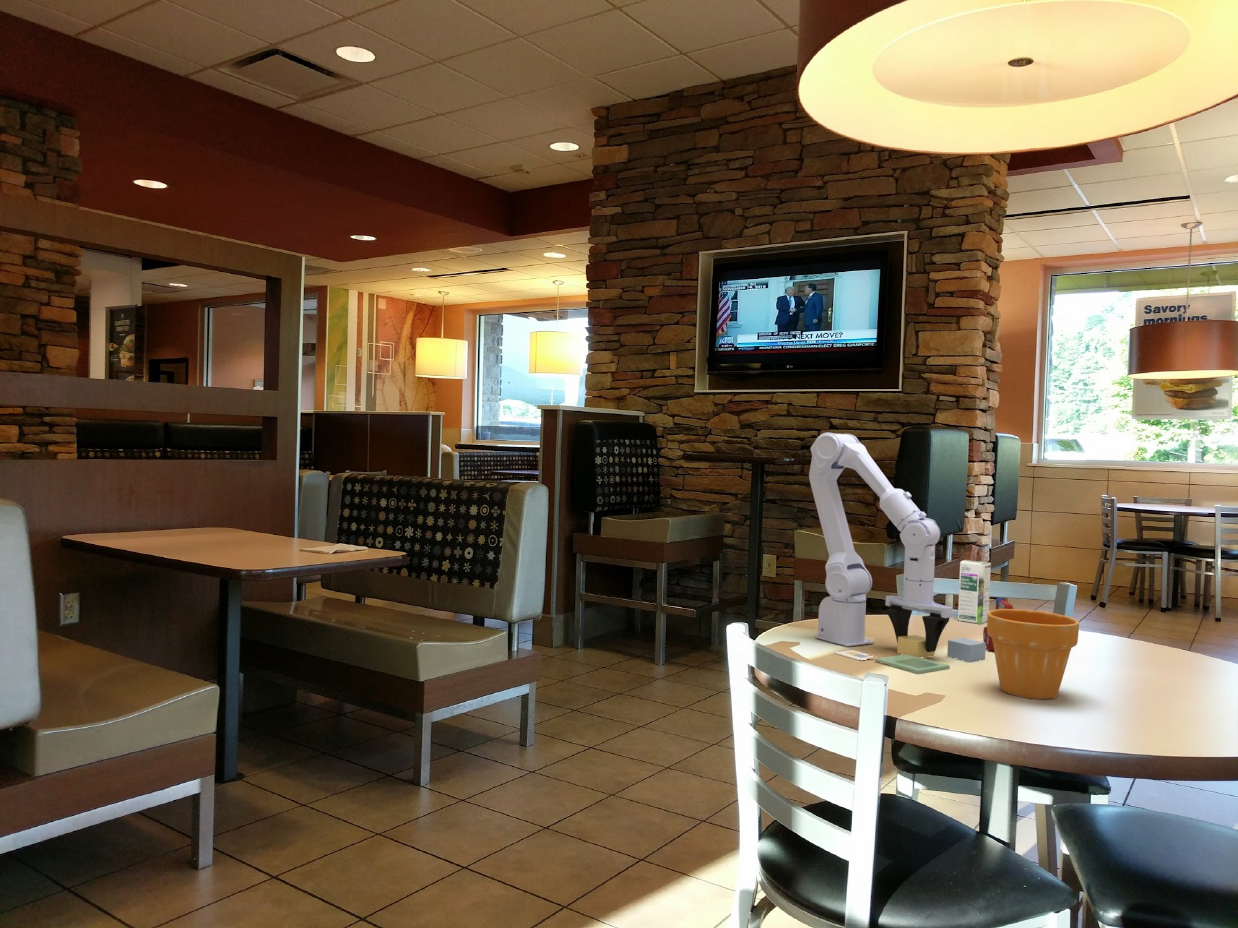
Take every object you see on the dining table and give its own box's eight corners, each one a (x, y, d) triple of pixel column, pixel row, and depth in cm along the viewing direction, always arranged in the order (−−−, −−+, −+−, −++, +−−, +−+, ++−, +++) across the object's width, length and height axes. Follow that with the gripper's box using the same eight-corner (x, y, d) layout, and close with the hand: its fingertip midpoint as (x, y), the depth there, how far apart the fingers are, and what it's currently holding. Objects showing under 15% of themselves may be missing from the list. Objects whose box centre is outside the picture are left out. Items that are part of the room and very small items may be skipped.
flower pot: (1062, 685, 158) (1065, 611, 158) (1087, 707, 144) (1090, 627, 144) (977, 678, 161) (980, 606, 160) (993, 699, 147) (996, 621, 147)
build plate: (875, 661, 171) (875, 658, 171) (906, 656, 176) (906, 653, 176) (918, 673, 163) (918, 670, 162) (949, 668, 167) (949, 665, 167)
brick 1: (897, 653, 179) (897, 636, 179) (914, 651, 182) (915, 634, 181) (917, 659, 175) (917, 641, 175) (934, 657, 177) (935, 639, 177)
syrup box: (956, 620, 216) (959, 561, 215) (965, 617, 220) (967, 559, 220) (981, 624, 212) (983, 563, 212) (989, 621, 217) (991, 561, 216)
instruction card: (834, 653, 177) (834, 651, 177) (852, 650, 180) (852, 649, 180) (861, 661, 171) (861, 659, 171) (879, 658, 174) (879, 657, 174)
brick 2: (947, 657, 177) (948, 640, 177) (962, 655, 180) (963, 637, 180) (969, 663, 173) (970, 645, 173) (985, 660, 176) (985, 642, 176)
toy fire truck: (1015, 644, 192) (1017, 595, 191) (1026, 657, 180) (1028, 605, 179) (980, 641, 193) (982, 593, 193) (989, 653, 181) (991, 602, 181)
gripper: (962, 583, 174) (960, 653, 174) (902, 573, 186) (900, 638, 186) (939, 585, 170) (936, 656, 170) (879, 575, 182) (877, 641, 183)
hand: (916, 647), depth 178 cm, fingers open, 6 cm apart
